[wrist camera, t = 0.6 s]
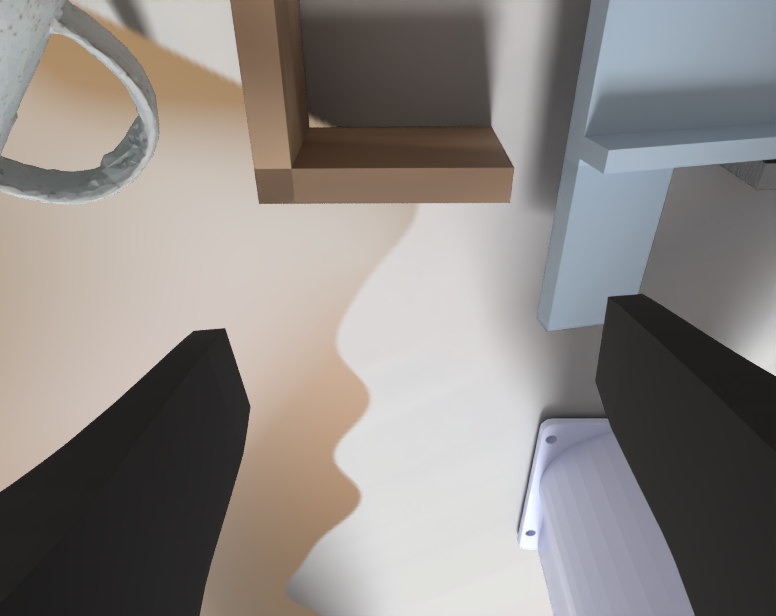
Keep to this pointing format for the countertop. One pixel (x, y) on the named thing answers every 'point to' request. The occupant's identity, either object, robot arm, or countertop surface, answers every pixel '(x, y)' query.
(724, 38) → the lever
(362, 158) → the pocket
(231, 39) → the countertop surface
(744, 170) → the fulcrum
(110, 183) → the ceramic mug
